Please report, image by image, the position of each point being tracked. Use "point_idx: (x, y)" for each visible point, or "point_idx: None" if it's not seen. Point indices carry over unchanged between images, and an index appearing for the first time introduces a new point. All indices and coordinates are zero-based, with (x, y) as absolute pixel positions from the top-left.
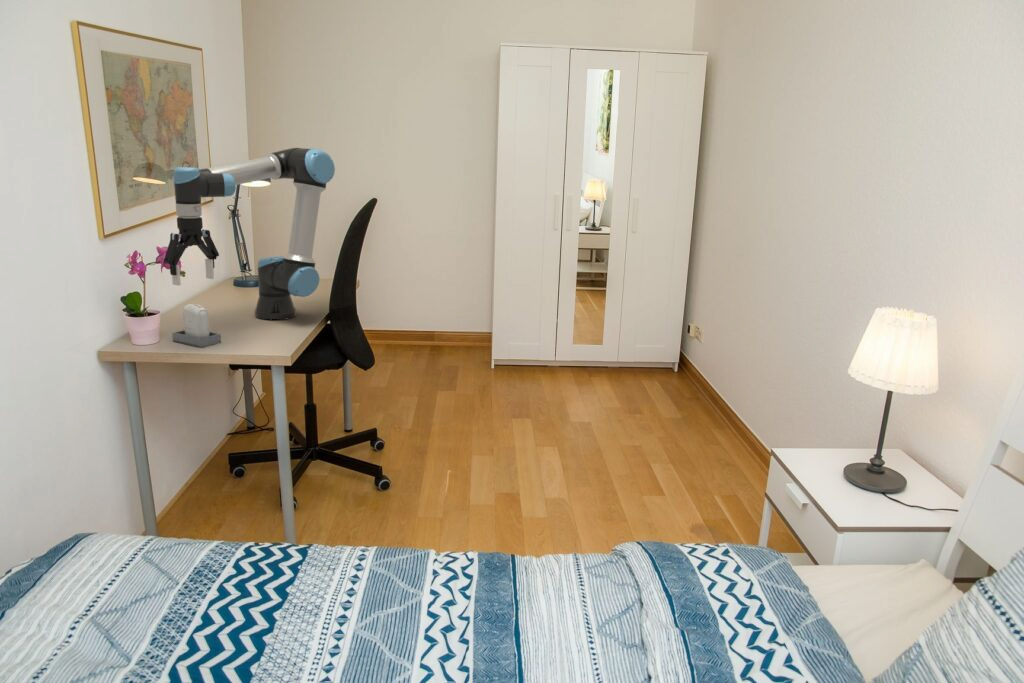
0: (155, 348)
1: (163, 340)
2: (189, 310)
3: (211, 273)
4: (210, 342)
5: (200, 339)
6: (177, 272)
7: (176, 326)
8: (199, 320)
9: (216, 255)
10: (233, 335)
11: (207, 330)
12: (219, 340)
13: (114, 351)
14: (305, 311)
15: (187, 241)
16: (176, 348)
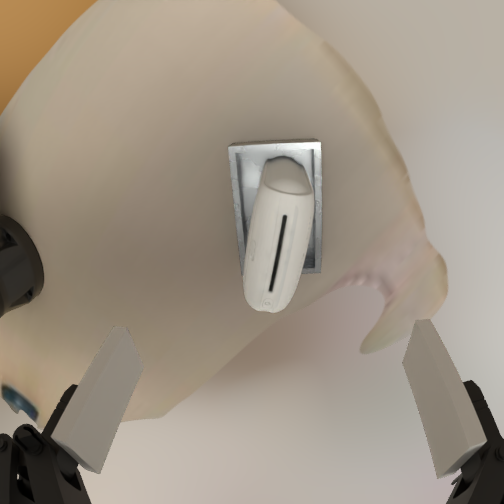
0: (391, 240)
1: (324, 284)
2: (304, 258)
3: (112, 357)
4: (278, 141)
5: (320, 145)
6: (464, 393)
7: (214, 351)
8: (305, 183)
9: (10, 446)
10: (155, 183)
11: (272, 166)
12: (238, 143)
13: (445, 287)
14: None
15: None
16: (362, 196)
